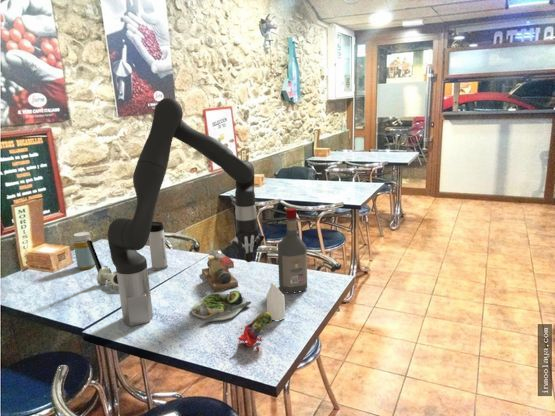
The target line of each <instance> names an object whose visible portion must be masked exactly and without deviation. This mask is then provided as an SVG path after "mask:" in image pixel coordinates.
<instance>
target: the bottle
mask: <svg viewBox="0 0 555 416" xmlns="http://www.w3.org/2000/svg"><path fill="white" fill-rule="evenodd" d="M73 240H74V245H73V247H74V253H75V259H76V265H77V268H78V269H79V270H81V271H85V270H91V269H93V268H94V267H96V265H95V262H94V260H93V257H92V254H91V252H90V249H89V247H88V244H87V241H88V240H91V241H92V239H91V233H90V231H79V232H76V233H73Z"/></svg>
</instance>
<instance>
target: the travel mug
mask: <svg viewBox="0 0 555 416" xmlns="http://www.w3.org/2000/svg"><path fill="white" fill-rule="evenodd" d="M148 244H149V251H150V253H149V254H150V261H151V269H152V270H154V271H163V270H165V269H167V268H168V259H167V257H168V256H167V249H166V240H165V229H164V223H162V222H160V221H152V226H151V230H150V235H149V238H148Z"/></svg>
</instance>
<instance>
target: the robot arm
mask: <svg viewBox="0 0 555 416" xmlns="http://www.w3.org/2000/svg"><path fill="white" fill-rule="evenodd" d="M183 112H184V111H183V108H182V106H181V104H180V103H179V101H178V100H177V99H175V98H172V97H166V98H162V99H161V100H159V101H158V102H157V103H156V105H155V107H154V110H153V118H152V123H151V128H150V131H149V133H148V136H147V139H146V141H145V143H144V144H143V147H142V149H141V152H140V155H139V157H138V160H137V163H136V165H135V168H134V172H133V176H132V182H133V188H134V191H135V195H136V207H135V212H134V214H133V217H132V218H125V217H123V218H121V217H120V218H116V219H114V220H112V221H111V223H110V225H109V226H108V229H107V242H108V246H109V247H108V248H109V253H110V257H111V262H112V264H113V266H115V271H116V272H117V279H118V287H119V291H118V293H119V299H120V306H121V312H122V313H121V314H122V321H123V323H124V324H125V325H128V326H129V327H134V326H138V325H142V324H146V323H150V322H151V320H152V318H153V317H154V311H153V303H152V297H151V286H150V278H149V271H148V262H147V258H146V257H145V256H144V255H143V254H141V253H140V252H138V251H139V250H142V249H143V248H144V247H145V246H146V245H147V243H148V242H149V235H150V230H151V226H152V222H153V220H154V214H155V210H156V206H157V202H158V198H159V195H160V192H161V189H162V184H163V182H164V180H165V176H166V172H167V169H168V164H169V161H170V159H169V158H170V155H171V148H172V142H173V139H176V140H178V141H181V142H182V143H184V144H185V145H187V146H189V147H190V148H192V149H194V150H195V151H197V152H199V153H200V154H201V155H203V156H204V157H205V158H207V159H208V160H209V161H212V163H214V164H216V166H219V168H220V169H222V170H223V171H224V172H225V173H226V174H227V175H228V176H229V177H230V178H231V179H233V180H234V181H235V193H234V199H235V200H234V201H235V211H234V212H235V213H234V215H235V228H236V233H235V237H234V238H232V239H230V244H232V245H233V246H234V247H235V248H236V249H237V250H238V251H239V252H241V253H243V254H244V255H243V256H244V261H245V262H246V263H252V261H253V260H254V253H253V252H254V251H257V250H258V249H259V247H260V246H261V243H262V242H263V241H264V239H265V235H263V234H262V233H259V230H258V214H257V207H256V194H255V168H254V165H253V164H252V163H251V162H250V161H248V160H243V159H242V160H241V159H240V158H239V157H237V155H235V154H234V152H233V150H231V149H230V148H229V147H227V145H225V144H223V143H222V142H220V141H219V140H217V138H215V137H213V136H210V135H208V134H205V133H202V132H200V131H198V130H196V129H195V128H192V127H191V126H190V125H188V124H187V122H185V121H184V120H183V116H184V113H183ZM239 242H240V243H241V245H242V246H241V245H240V244H239Z"/></svg>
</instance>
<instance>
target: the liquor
mask: <svg viewBox="0 0 555 416" xmlns="http://www.w3.org/2000/svg"><path fill="white" fill-rule="evenodd" d="M297 214H298V213H297V208H296V207H288V208H286V209H285V215H286V232H285V233H286V235H285V236H284V237H283V238H282V239H281V240H280V241H279V243H278V245H277V259H278V263H277V264H278V265H277V266H278V283H279V284H278V285H279V287H280V289H281V288H282V289H281V290H282V291H283V293H284V292H288V293H294V292H299V291H304V290H305V289H306V290H307V288H308V253H307V252H308V249H307V248H308V247H307V245H306V243H304V241H303V240H302V239H301V238H300V236H299V235H298V230H297V229H298V228H297V217H298V216H297ZM306 290H305V291H306ZM305 291H304V292H305ZM288 293H287V294H288ZM294 294H295V293H294Z"/></svg>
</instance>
